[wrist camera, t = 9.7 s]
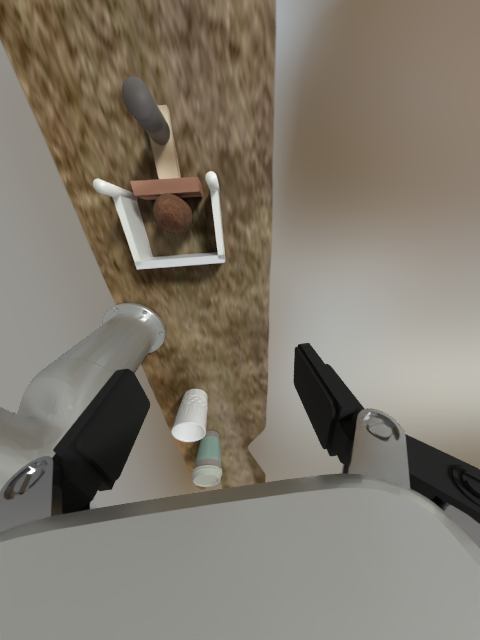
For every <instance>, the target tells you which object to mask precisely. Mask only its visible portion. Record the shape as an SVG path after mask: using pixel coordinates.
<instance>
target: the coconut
mask: <svg viewBox="0 0 480 640" xmlns="http://www.w3.org/2000/svg"><path fill="white" fill-rule="evenodd" d="M153 216H154V219H155V221H156V223H157V224H158V225H159V226H160V227H162V228H163V229H165V230H167V231H169V232H173V233H178V234H180V233H185V232H186V231H187V230H188V229H189V228H190V226H191V224H192V218H193V214H192V211H191V208H190V207H189V206H188V204H187V203H186V202H185V201H184V200H182V199H181V198H179V197H178V196H176V195H173V194H170V193H164V194H162V195H160V196H159V197H158V198H157V199H156V201H155V203H154V207H153Z"/></svg>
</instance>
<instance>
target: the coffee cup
mask: <svg viewBox="0 0 480 640" xmlns="http://www.w3.org/2000/svg"><path fill="white" fill-rule="evenodd" d="M221 476H222V469H221V458H220V442H219V434H218V433H217V432H216V431H206V434H205V436H204V437H203V438H202V439H201V441H200V445H199V449H198V454H197V458H196V462H195V467H194V470H193V471H192V477H193V482H194V484H195V485H198V486H201V487H210V486H214V485H216V484H218V483H219V482H220V479H221Z"/></svg>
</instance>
